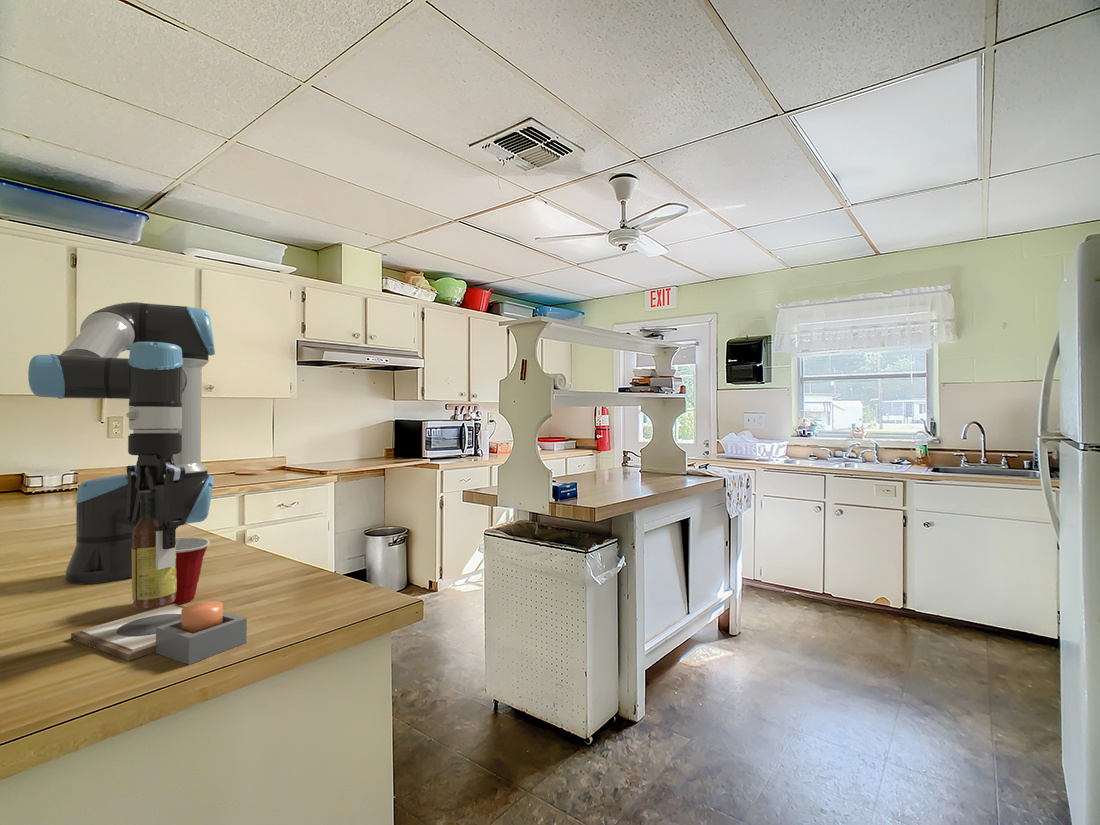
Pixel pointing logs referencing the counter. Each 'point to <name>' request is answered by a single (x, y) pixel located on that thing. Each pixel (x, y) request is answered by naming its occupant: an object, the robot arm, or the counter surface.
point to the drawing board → (129, 632)
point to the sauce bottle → (149, 561)
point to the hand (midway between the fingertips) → (154, 564)
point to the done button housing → (200, 639)
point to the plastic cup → (188, 566)
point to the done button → (201, 616)
